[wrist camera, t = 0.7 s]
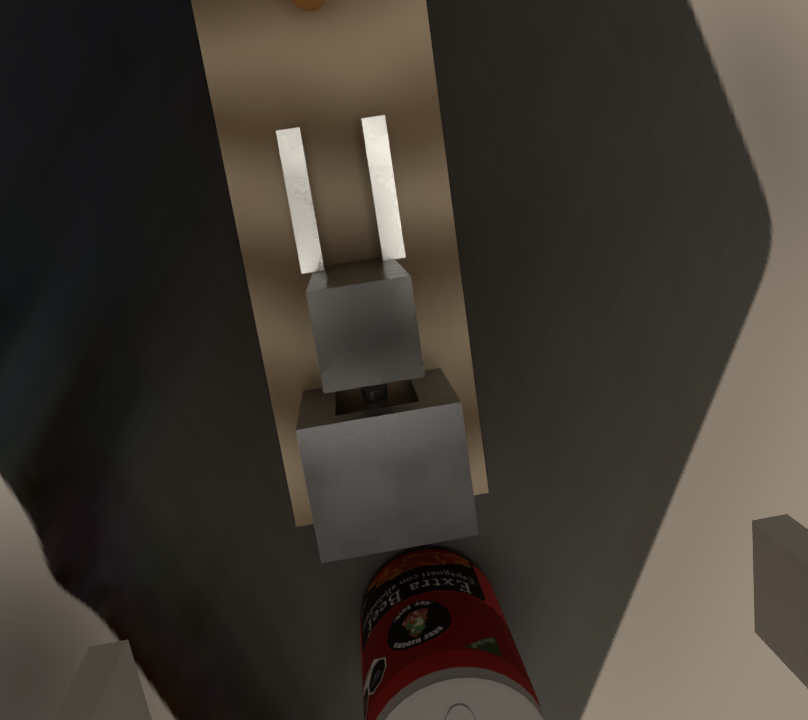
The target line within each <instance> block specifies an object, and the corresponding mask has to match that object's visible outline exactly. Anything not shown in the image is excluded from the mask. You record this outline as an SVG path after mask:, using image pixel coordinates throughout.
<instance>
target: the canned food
mask: <svg viewBox="0 0 808 720" xmlns="http://www.w3.org/2000/svg"><path fill="white" fill-rule="evenodd" d="M360 633H361V656H362V679H363V702H364V720H545V718H544V715H543V713H542V710H541V708H540V704H539V702H538V699H537V697H536V694H535V691H534V689H533V686H532V684H531V682H530V679H529V677H528V674H527V672H526V669H525V667H524V664H523V662H522V659H521V657H520V655H519V652H518V650H517V647H516V645H515V642H514V640H513V637H512V635H511V633H510V630H509V628H508V625H507V623H506V620H505V618H504V615H503V613H502V611H501V608H500V606H499V603H498V601H497V598H496V596H495V593H494V591H493V588H492V586H491V584H490V583H489V581H488V580H487V578H486V577H485V575H484V574H483V573H482V572H481V571H480V570H479V569H478V568H477V567H476V566H475V565H473V564H472V563H471V562H469V561H468V560H466V559H465V558H463V557H461V556H460V555H458V554H455V553H452V552H450V551H446V550H440V549H421V550H416V551H411V552H408V553H406V554H404V555H401V556H399V557H397V558H396V559H394V560H393V561H391V562H390V563H388V564H387V565H386V566H385V567H384V568H383V569H382V570H381V571H380V572H379V573H378V574H377V576H376V577H375V578H374V580H373V581H372V583H371V585H370V587H369V589H368V591H367V593H366V595H365V598H364V600H363V603H362V608H361V613H360Z"/></svg>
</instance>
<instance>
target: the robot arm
mask: <svg viewBox="0 0 808 720" xmlns="http://www.w3.org/2000/svg"><path fill="white" fill-rule="evenodd" d="M752 531H753V570H754V571H753V572H754V610H755V611H754V612H755V633H756V634H757V635H758V636H759V637H760V638H761V639H762V640H763V641H764V642H765V643H766V644H767V645H768V647H769V648H770V649H771V650H772V651H773V652H774V653H775V654H776V655H777V656H778V657H779V658H780V659H781V660H782V661H783V663H784V664H785V665H786V666H787V667H788V668H789V669H790V670H791V671H792V672H793V673H794V674H795V675H796V676H797V677H798V678H799V679H800V681H801V682H802V683H803V684H804V685H805V686H806V687H807V688H808V529H806V528H805V527H804V526H802V525H801V524H800V523H798V522H797V521H796V520H794V519H793V518H791V517H790V516H789V515H787V514H785V515H780V516H775V517H770V518H764V519H759V520H753V521H752ZM51 720H152V719H151V716H150V712H149V709H148V706H147V703H146V699H145V696H144V692H143V689H142V686H141V682H140V679H139V675H138V672H137V669H136V665H135V662H134V659H133V655H132V652H131V649H130V645H129V642H128V640H124V641H119V642H114V643H108V644H103V645H98V646H92V647H89V649H88V651H87V653H86V654H85V657H84V658H83V660H82V662H81V664H80V666H79V668H78V669H77V671H76V673H75V675H74V677H73V679H72V681H71V683H70V684H69V687H68V688H67V690H66V692H65V694H64V696H63V697H62V699H61V701H60V703H59V705H58V707H57V709H56V711H55V712H54V715H53V716H52V718H51Z"/></svg>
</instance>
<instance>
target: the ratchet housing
mask: <svg viewBox="0 0 808 720" xmlns="http://www.w3.org/2000/svg"><path fill="white" fill-rule="evenodd" d="M424 372H425V377H420V378H414V379H409V382H410V388H411V395H412V402H413V403H409V404H403V405H397V406H391V407H385V408H379V409H374V410H368V411H362V412H356V413H350V414H344V415H341V413H340V408H339V402H338V396H337V391H336V392H330V393H324V391H323V387H322V388H316V389H310V390H304V391H303V393H302V399H301V404H300V409H299V415H298V420H297V425H296V435H297V440H298V445H299V450H300V455H301V461H302V466H303V471H304V476H305V481H306V486H307V492H308V497H309V502H310V507H311V512H312V517H313V523H314V528H315V533H316V538H317V543H318V548H319V554H320V559H321V563H326V562H332V561H337V560H343V559H348V558H354V557H359V556H365V555H370V554H376V553H381V552H387V551H392V550H398V549H404V548H409V547H415V546H420V545H426V544H431V543H437V542H442V541H448V540H453V539H459V538H464V537H470V536H475V535H479V531H478V524H477V516H476V509H475V501H474V493H473V486H472V478H471V471H470V463H469V456H468V448H467V441H466V433H465V426H464V418H463V411H462V403H461V401H460V399H459V397H458V396H457V394H456V393H455V391H454V389H453V388H452V386H451V384H450V383H449V381H448V380H447V378H446V376H445V375H444V373H443V372H442V370H441V368H437V369H431V370H425V371H424Z"/></svg>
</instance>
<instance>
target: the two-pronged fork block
mask: <svg viewBox="0 0 808 720" xmlns="http://www.w3.org/2000/svg"><path fill="white" fill-rule="evenodd" d="M360 128H361V134H362V141H363V147H364V154H365V160H366V167H367V173H368V180H369V186H370V193H371V199H372V206H373V212H374V219H375V225H376V232H377V238H378V245H379V251H380V258H374V259H368V260H362V261H355V262H349V263H342V264H336V265H330V266H325V262H324V256H323V251H322V245H321V239H320V233H319V227H318V222H317V216H316V210H315V204H314V198H313V193H312V187H311V181H310V175H309V170H308V164H307V158H306V152H305V146H304V141H303V135H302V131H301V129H300V127H298V128H291V129H284V130H277V131H276V135H277V141H278V146H279V152H280V157H281V163H282V168H283V174H284V180H285V185H286V191H287V196H288V202H289V207H290V213H291V218H292V224H293V229H294V235H295V240H296V246H297V251H298V257H299V262H300V268H301V273H302V274H304V273H310V272H313V273H312V276H311V279H310V282H309V284H308V287H307V290H306V297H307V302H308V308H309V314H310V319H311V325H312V330H313V336H314V341H315V347H316V352H317V358H318V363H319V369H320V374H321V380H322V385H323V391H324V393H330V392H336V391H342V390H348V389H354V388H361V394H362V399H363V402H364V404H365V405H366V406H367V407H369V408H371V409H379V408H381V407H383V406H384V405H385V404H386V402H387V400H388V392H387V385H386V383H390V382H396V381H402V380H408V379H414V378H420V377H425V372H424V365H423V358H422V351H421V344H420V337H419V330H418V323H417V316H416V309H415V302H414V296H413V289H412V282H411V275H410V274H409V273H408V272H407V271H406V270H405V269H404V268H403V267H402V266H401V265H400V264H399V263H398V262H397V261H396V260H395V259H399V258H406V257H405V250H404V243H403V236H402V229H401V222H400V215H399V209H398V202H397V195H396V188H395V181H394V174H393V167H392V160H391V153H390V147H389V140H388V133H387V126H386V119H385V115H381V116H374V117H367V118H361V121H360Z"/></svg>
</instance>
